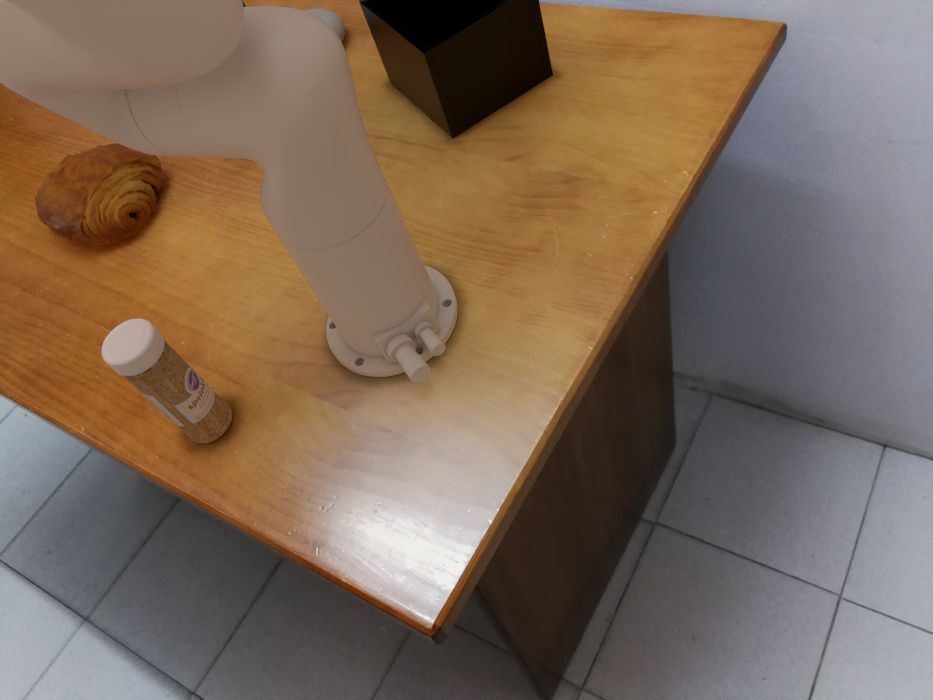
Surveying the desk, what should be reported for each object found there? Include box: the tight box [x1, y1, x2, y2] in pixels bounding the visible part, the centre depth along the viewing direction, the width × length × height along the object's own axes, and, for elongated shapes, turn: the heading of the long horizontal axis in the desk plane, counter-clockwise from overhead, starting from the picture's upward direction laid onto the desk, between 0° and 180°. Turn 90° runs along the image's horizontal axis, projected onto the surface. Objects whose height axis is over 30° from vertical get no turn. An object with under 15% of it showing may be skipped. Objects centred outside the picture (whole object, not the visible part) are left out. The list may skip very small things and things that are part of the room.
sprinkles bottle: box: [100, 318, 233, 444], centre depth 67 cm, size 5×5×14 cm
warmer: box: [358, 0, 554, 139], centre depth 88 cm, size 15×14×11 cm
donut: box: [304, 7, 346, 43], centre depth 103 cm, size 10×4×10 cm
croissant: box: [34, 142, 166, 246], centre depth 93 cm, size 14×16×8 cm
